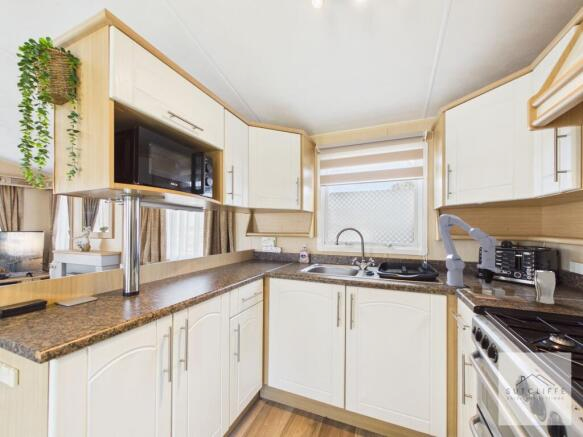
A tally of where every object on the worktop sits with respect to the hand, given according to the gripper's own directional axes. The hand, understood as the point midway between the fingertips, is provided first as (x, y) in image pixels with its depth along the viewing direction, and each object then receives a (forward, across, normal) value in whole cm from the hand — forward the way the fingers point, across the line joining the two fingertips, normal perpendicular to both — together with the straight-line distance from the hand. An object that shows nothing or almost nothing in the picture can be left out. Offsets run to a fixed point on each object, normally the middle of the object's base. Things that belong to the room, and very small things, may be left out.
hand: (488, 283), depth 132 cm
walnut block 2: (+4, +5, +6) cm, 9 cm away
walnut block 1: (+5, +2, -8) cm, 9 cm away
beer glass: (+5, +16, +15) cm, 22 cm away
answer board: (+5, +5, -1) cm, 7 cm away
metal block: (+5, +10, -3) cm, 12 cm away
